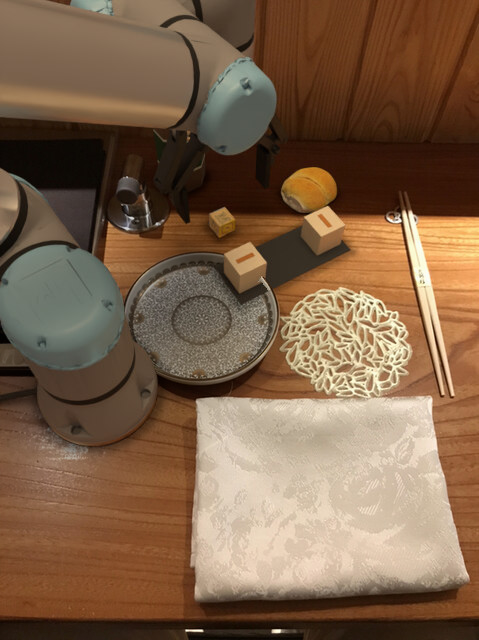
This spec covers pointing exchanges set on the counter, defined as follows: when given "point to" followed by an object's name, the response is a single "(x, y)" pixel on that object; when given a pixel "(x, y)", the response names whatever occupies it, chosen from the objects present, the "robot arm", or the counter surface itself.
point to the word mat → (284, 262)
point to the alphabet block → (221, 222)
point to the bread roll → (309, 190)
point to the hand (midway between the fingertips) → (223, 199)
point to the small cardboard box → (244, 267)
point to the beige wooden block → (322, 230)
